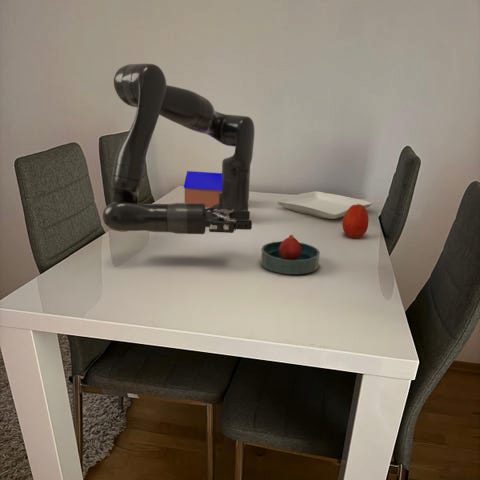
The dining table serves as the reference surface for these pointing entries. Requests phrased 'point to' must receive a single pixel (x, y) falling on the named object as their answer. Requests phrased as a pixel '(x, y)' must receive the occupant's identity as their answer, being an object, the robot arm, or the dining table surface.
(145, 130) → the robot arm
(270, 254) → the bowl
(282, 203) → the square plate
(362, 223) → the red egg
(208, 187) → the house
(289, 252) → the red lemon
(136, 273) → the dining table surface
